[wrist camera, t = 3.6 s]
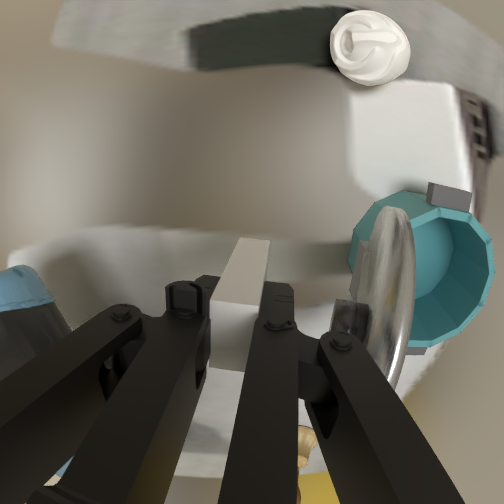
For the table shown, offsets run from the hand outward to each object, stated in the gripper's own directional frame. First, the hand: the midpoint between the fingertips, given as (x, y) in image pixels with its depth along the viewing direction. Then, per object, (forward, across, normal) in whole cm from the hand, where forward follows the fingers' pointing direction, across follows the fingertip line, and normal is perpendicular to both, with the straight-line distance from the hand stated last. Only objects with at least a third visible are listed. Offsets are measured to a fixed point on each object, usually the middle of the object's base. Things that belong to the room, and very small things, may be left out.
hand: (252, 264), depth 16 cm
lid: (+2, +8, -4) cm, 9 cm away
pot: (+18, +16, -4) cm, 25 cm away
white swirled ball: (+19, +8, +17) cm, 27 cm away
